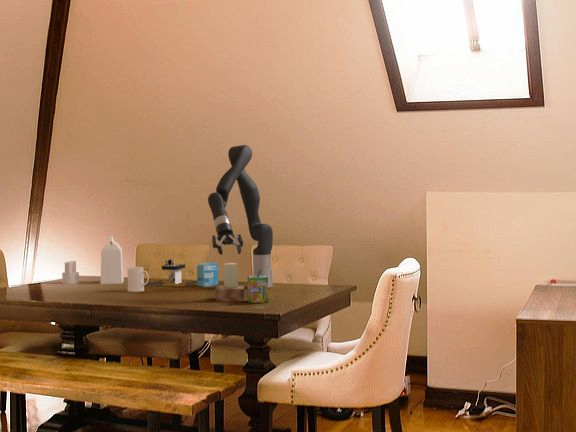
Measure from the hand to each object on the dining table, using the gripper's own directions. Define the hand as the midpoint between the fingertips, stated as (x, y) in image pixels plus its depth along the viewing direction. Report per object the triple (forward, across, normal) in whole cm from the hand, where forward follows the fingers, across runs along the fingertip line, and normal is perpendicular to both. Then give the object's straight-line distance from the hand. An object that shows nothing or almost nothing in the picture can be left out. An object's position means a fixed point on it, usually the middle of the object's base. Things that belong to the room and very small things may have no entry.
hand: (230, 253), depth 370 cm
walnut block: (+15, 0, +16) cm, 22 cm away
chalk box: (+24, +9, +7) cm, 26 cm away
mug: (-22, -35, +53) cm, 67 cm away
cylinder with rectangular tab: (-60, -64, +90) cm, 125 cm away
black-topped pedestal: (-40, -12, +71) cm, 82 cm away
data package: (-26, +3, +58) cm, 63 cm away
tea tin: (+10, 0, +12) cm, 16 cm away
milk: (-55, -42, +85) cm, 110 cm away
